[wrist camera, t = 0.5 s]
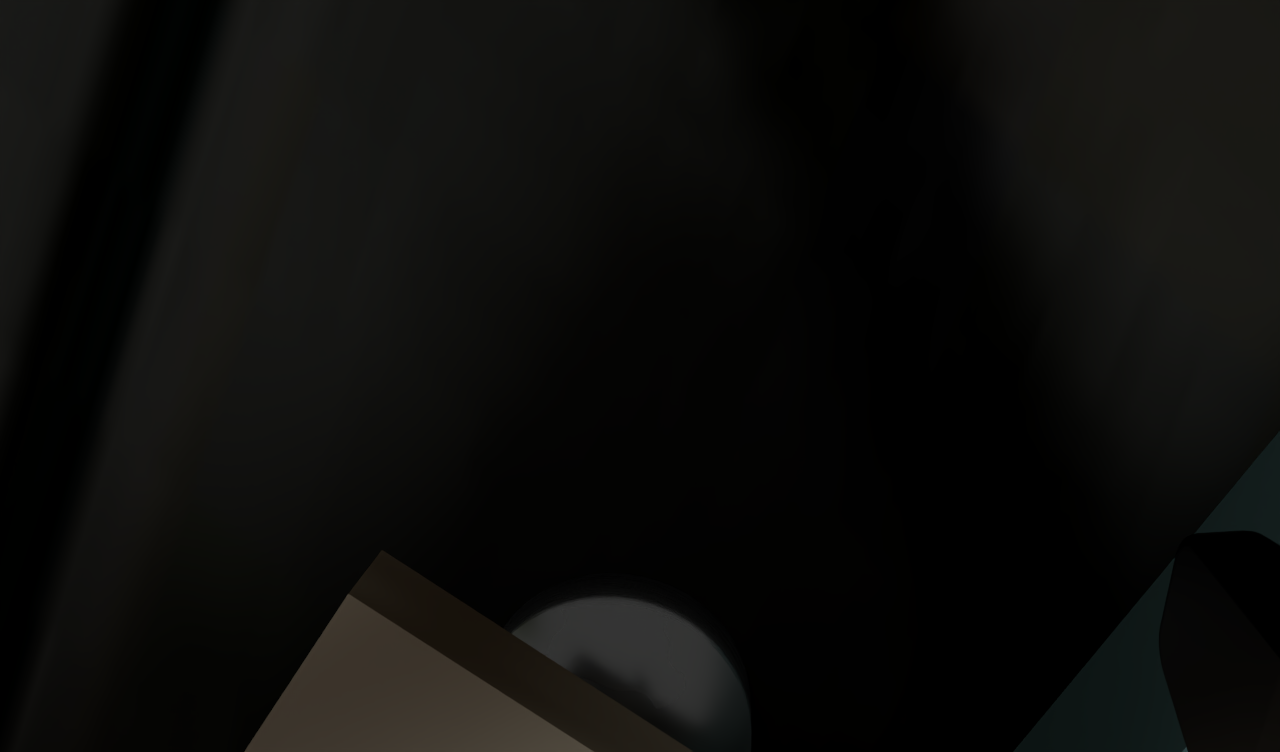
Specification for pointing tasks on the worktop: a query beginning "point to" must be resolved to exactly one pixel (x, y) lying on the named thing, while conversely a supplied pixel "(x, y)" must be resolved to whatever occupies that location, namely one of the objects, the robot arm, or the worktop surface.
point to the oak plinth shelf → (439, 684)
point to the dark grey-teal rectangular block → (1148, 647)
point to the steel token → (646, 654)
